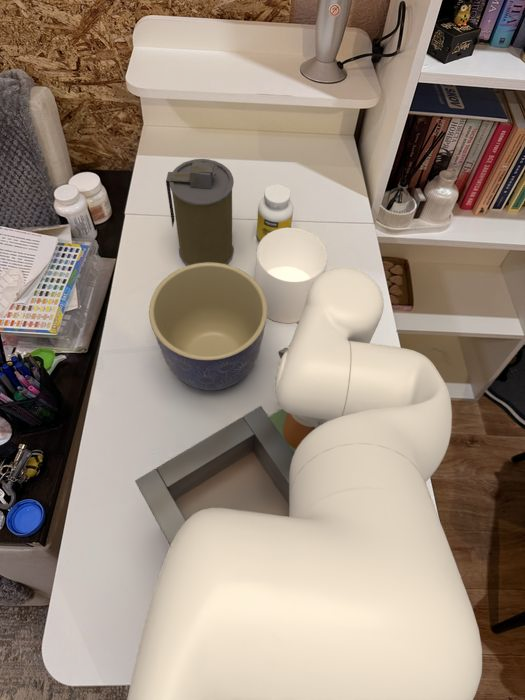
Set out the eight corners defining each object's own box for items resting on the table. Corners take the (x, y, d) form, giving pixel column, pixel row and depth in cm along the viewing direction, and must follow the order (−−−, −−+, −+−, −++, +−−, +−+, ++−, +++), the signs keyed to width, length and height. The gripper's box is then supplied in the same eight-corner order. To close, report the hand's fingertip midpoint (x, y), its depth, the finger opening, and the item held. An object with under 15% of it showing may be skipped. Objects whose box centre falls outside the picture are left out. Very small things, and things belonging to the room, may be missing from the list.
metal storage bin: (316, 557, 72) (346, 526, 53) (218, 629, 67) (213, 624, 48) (253, 463, 78) (260, 405, 59) (160, 522, 73) (134, 480, 54)
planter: (151, 397, 82) (136, 351, 69) (172, 311, 91) (162, 255, 78) (256, 411, 82) (260, 366, 69) (267, 323, 91) (273, 268, 77)
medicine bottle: (329, 437, 80) (344, 406, 70) (297, 458, 78) (307, 429, 68) (306, 406, 82) (317, 372, 72) (274, 426, 80) (281, 393, 70)
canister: (236, 233, 101) (236, 148, 83) (230, 274, 96) (230, 193, 78) (181, 228, 101) (170, 142, 83) (172, 269, 95) (159, 187, 78)
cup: (307, 331, 90) (317, 291, 80) (245, 312, 91) (246, 270, 81) (324, 281, 96) (335, 237, 86) (265, 264, 97) (269, 219, 87)
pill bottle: (252, 246, 99) (255, 202, 89) (260, 222, 102) (263, 177, 92) (285, 253, 99) (291, 209, 89) (292, 229, 102) (298, 184, 92)
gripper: (258, 316, 61) (253, 382, 77) (348, 431, 54) (322, 478, 70) (309, 289, 63) (294, 358, 79) (401, 397, 57) (364, 449, 72)
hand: (307, 414), depth 74 cm, fingers closed on medicine bottle, 6 cm apart
